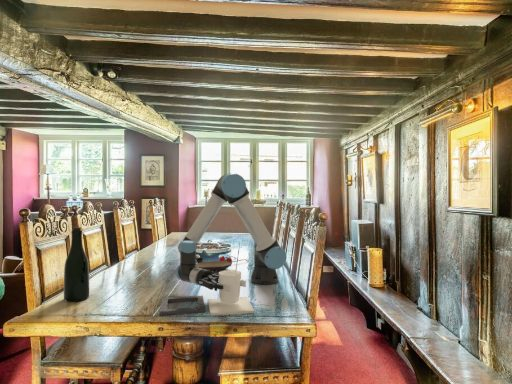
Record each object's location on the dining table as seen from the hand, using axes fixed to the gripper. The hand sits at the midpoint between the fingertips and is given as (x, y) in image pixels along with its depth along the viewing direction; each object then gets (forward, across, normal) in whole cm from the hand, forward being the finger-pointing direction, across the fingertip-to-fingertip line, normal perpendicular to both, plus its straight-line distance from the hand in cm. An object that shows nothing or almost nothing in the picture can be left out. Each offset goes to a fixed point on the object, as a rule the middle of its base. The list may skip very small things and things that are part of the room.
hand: (237, 286), depth 146 cm
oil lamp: (-59, -42, -10) cm, 72 cm away
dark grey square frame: (-20, +13, -10) cm, 26 cm away
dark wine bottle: (-66, +37, -10) cm, 76 cm away
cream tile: (-4, 0, -10) cm, 11 cm away
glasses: (-65, -69, -10) cm, 95 cm away
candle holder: (-5, 0, -7) cm, 8 cm away
